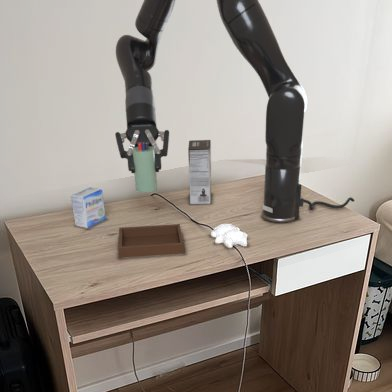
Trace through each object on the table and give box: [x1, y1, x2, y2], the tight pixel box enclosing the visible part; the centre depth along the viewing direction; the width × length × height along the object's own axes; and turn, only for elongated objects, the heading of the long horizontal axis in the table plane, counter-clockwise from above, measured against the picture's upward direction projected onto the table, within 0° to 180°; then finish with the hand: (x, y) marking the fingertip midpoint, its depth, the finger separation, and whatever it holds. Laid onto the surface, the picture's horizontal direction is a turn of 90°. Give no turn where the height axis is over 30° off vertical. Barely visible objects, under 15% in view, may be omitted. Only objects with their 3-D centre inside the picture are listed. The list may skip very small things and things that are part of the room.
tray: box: [118, 223, 185, 259], centre depth 135 cm, size 16×13×3 cm
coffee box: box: [187, 139, 212, 205], centre depth 158 cm, size 9×6×16 cm
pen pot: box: [132, 142, 158, 193], centre depth 136 cm, size 6×6×12 cm
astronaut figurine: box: [210, 223, 248, 249], centre depth 137 cm, size 9×12×3 cm
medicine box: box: [70, 186, 106, 229], centre depth 147 cm, size 8×4×9 cm, turn 148°
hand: (145, 171), depth 136 cm, fingers closed on pen pot, 5 cm apart
